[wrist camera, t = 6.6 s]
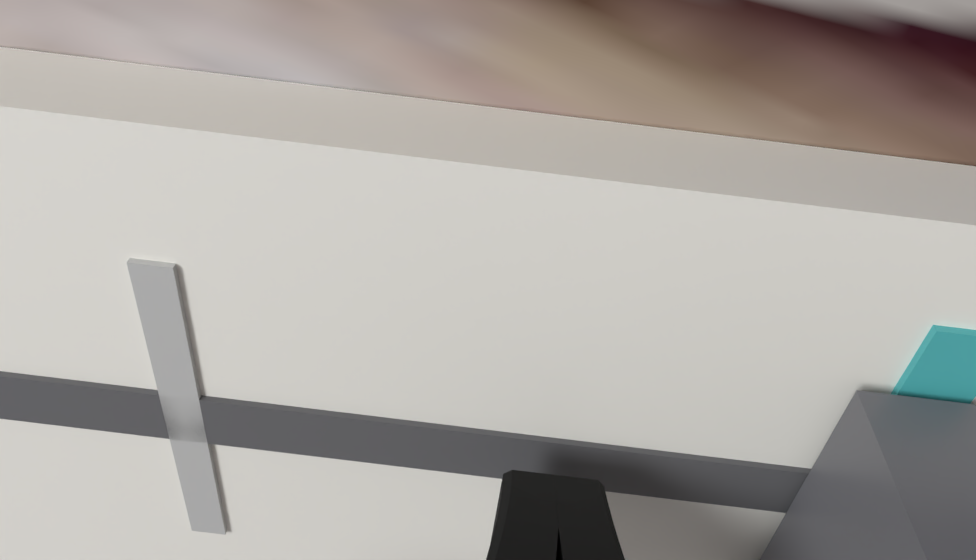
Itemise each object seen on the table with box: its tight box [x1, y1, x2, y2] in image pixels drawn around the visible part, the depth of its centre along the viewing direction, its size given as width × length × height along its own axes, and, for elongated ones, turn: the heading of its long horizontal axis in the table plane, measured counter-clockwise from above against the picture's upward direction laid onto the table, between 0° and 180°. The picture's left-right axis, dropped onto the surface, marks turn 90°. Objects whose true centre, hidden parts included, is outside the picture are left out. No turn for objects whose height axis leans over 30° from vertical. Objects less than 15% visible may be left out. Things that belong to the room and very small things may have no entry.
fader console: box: [0, 47, 976, 560], centre depth 12 cm, size 22×10×2 cm, turn 84°
